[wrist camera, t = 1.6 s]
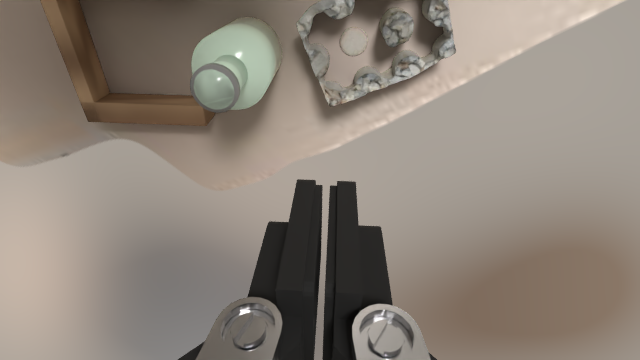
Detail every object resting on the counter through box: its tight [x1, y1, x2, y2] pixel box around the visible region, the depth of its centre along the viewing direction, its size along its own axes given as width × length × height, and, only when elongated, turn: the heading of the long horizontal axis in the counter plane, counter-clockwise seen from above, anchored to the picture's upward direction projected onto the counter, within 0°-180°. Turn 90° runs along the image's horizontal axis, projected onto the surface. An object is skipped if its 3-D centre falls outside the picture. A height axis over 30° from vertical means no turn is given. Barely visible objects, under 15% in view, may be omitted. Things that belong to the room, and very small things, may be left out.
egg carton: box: [296, 0, 456, 106], centre depth 25 cm, size 11×8×4 cm
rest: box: [40, 0, 215, 126], centre depth 27 cm, size 12×11×2 cm
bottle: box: [190, 17, 282, 113], centre depth 24 cm, size 5×5×10 cm
